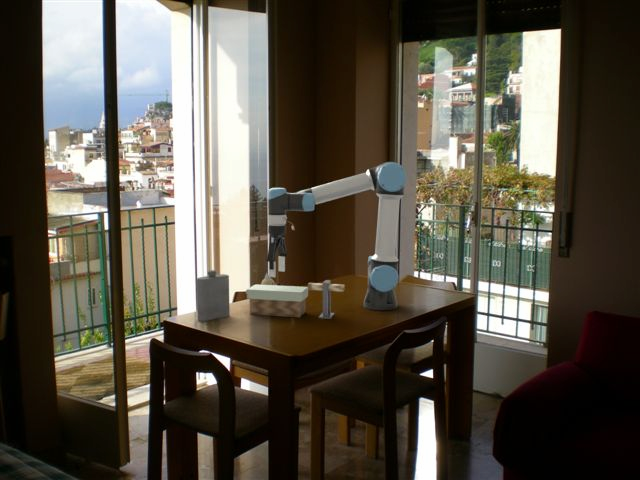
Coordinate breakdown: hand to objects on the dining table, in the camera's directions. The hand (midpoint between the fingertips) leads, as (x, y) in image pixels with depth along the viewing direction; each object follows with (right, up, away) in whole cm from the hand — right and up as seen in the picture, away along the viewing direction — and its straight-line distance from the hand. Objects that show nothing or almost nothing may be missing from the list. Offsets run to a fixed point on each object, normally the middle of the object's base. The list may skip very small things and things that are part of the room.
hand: (277, 274), depth 293 cm
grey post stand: (+21, -18, -3) cm, 28 cm away
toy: (-8, -15, +19) cm, 25 cm away
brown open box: (0, -17, +2) cm, 17 cm away
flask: (-26, -18, -6) cm, 33 cm away
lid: (0, -10, +1) cm, 10 cm away
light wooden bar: (+21, -7, -4) cm, 22 cm away
